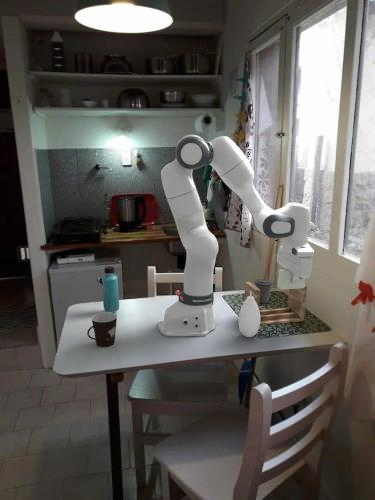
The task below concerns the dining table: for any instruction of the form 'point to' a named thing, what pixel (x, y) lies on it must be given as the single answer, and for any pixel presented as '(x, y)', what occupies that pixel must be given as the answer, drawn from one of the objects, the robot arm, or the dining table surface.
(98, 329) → the coffee mug
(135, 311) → the dining table surface
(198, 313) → the robot arm
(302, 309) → the track frame
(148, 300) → the dining table surface
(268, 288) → the coffee cup
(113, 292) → the beverage bottle
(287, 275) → the door panel
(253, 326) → the sauce bottle
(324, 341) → the dining table surface
